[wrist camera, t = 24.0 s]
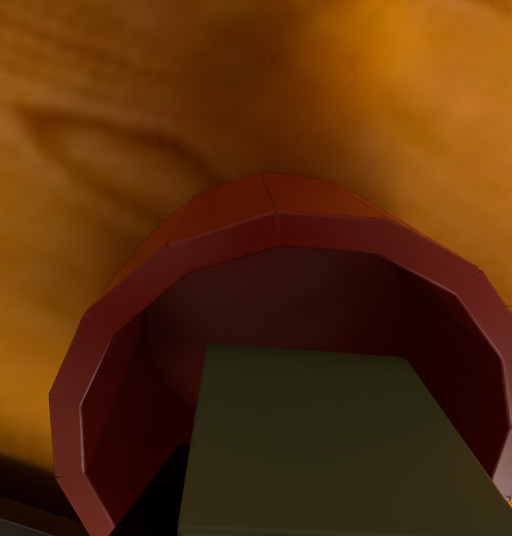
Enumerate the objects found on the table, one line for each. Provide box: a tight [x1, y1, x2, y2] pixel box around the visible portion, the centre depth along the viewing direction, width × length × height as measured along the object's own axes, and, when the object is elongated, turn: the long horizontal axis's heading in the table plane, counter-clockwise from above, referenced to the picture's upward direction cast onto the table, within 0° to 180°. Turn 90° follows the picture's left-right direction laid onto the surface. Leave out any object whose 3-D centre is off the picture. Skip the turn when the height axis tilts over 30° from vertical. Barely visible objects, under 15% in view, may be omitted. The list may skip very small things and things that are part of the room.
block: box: [177, 343, 512, 536], centre depth 8 cm, size 4×4×4 cm
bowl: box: [49, 173, 512, 536], centre depth 12 cm, size 11×11×6 cm
